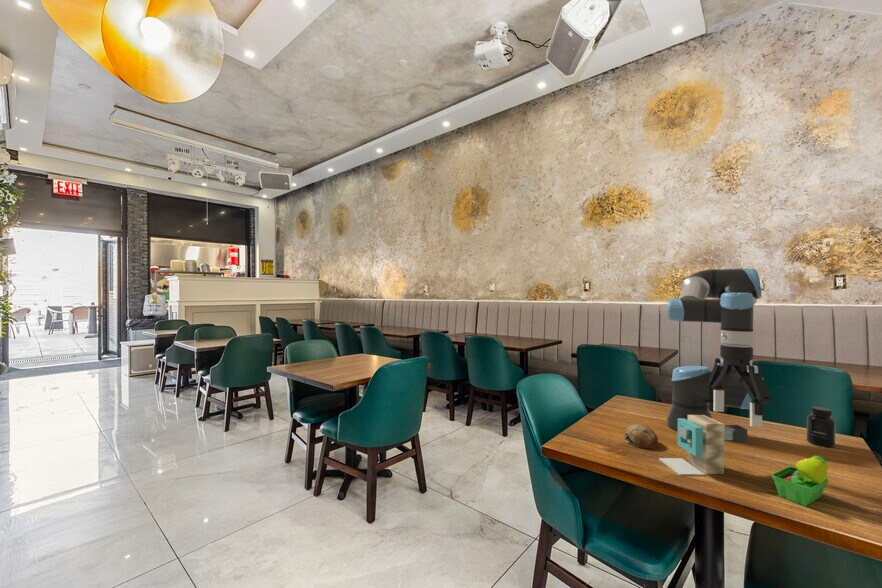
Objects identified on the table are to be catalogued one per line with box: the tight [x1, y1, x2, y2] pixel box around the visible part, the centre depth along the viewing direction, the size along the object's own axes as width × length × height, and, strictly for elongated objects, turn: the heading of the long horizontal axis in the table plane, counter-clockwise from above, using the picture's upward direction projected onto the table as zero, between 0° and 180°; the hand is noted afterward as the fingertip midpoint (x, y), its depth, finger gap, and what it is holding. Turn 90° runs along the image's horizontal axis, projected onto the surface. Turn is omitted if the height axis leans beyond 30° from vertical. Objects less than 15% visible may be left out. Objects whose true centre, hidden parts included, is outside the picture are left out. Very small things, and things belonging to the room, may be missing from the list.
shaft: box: [680, 424, 748, 443], centre depth 108 cm, size 17×4×4 cm, turn 90°
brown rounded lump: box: [624, 423, 659, 449], centre depth 126 cm, size 10×10×8 cm
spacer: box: [676, 418, 703, 456], centre depth 108 cm, size 8×2×8 cm, turn 0°
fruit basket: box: [771, 455, 830, 507], centre depth 92 cm, size 11×9×11 cm
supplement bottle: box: [806, 406, 837, 448], centre depth 126 cm, size 7×7×12 cm
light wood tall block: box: [686, 415, 725, 475], centre depth 108 cm, size 5×8×14 cm, turn 0°
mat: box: [658, 457, 706, 477], centre depth 108 cm, size 10×7×1 cm
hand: (736, 418), depth 108 cm, fingers open, 13 cm apart
